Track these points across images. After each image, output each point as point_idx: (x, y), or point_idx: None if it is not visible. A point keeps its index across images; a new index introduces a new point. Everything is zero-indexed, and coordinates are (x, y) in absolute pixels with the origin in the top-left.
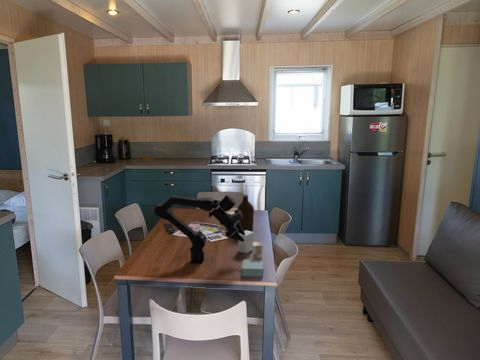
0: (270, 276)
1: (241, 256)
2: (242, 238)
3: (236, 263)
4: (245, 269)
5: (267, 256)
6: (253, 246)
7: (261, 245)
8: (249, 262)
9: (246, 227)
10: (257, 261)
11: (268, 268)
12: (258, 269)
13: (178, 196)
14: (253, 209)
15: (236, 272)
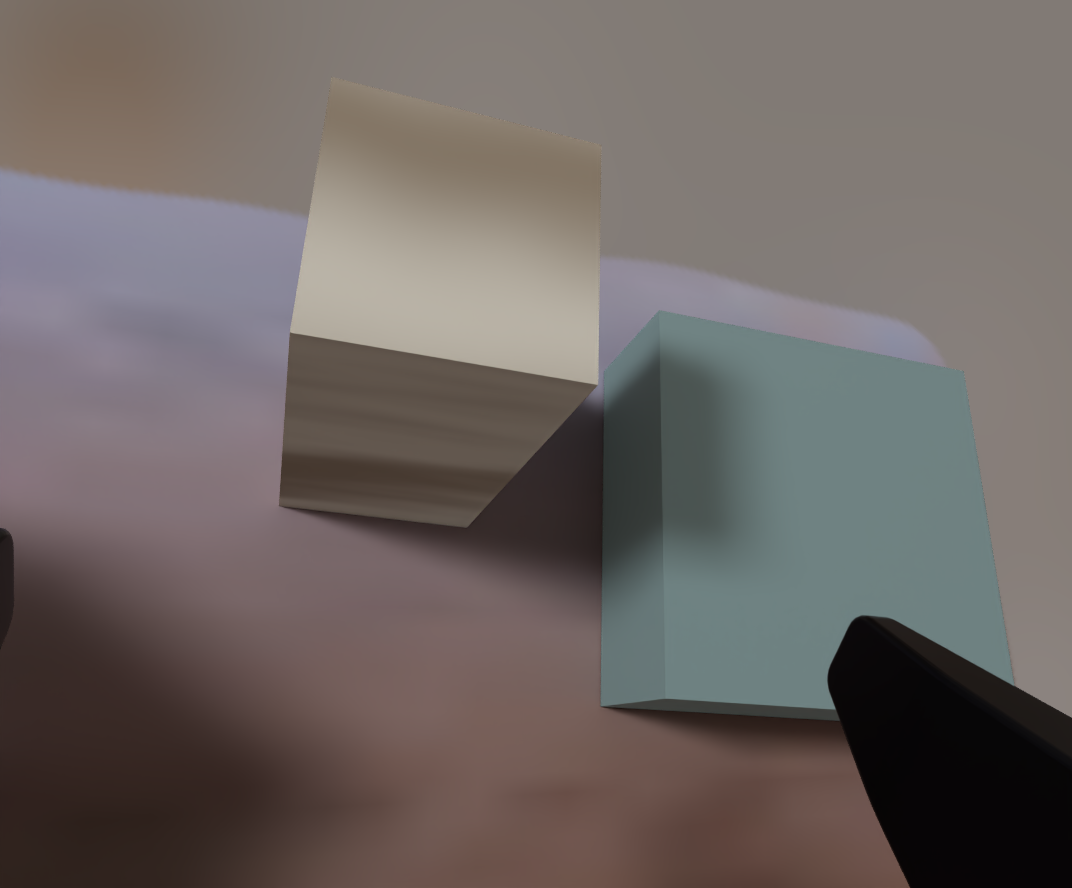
0: (849, 326)
1: (43, 770)
2: (1010, 685)
3: (438, 870)
4: (996, 658)
5: (142, 223)
6: (591, 374)
7: (576, 162)
8: (779, 573)
9: None
10: (725, 420)
11: (629, 305)
12: (966, 443)
13: None
14: None
15: (805, 835)
